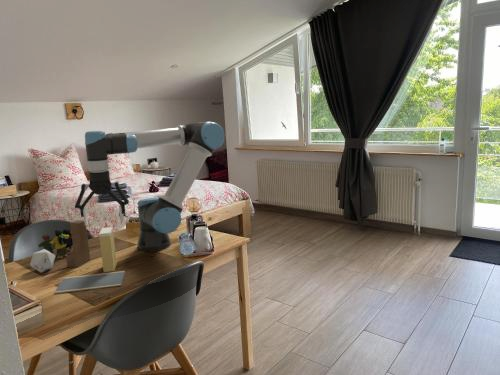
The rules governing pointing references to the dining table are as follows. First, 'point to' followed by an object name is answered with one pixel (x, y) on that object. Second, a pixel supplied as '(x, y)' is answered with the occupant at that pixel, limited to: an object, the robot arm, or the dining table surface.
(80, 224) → the wooden block
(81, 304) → the dining table surface
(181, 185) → the robot arm
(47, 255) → the die
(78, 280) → the felt mat
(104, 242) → the ochre slab
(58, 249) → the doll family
